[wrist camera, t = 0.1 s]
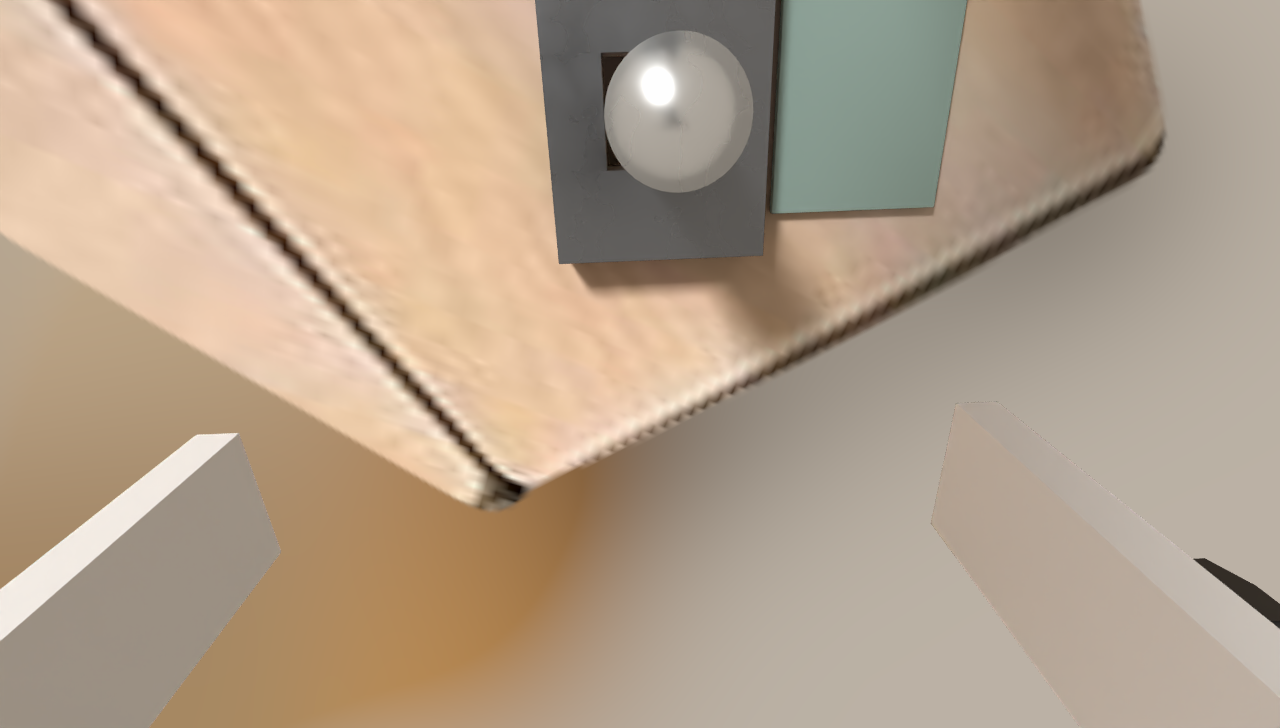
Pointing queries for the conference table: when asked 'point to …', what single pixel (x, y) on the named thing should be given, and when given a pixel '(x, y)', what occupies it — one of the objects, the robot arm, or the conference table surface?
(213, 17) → the conference table surface
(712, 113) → the steel pin
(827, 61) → the rubber mat
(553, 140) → the socket plate
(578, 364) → the conference table surface
